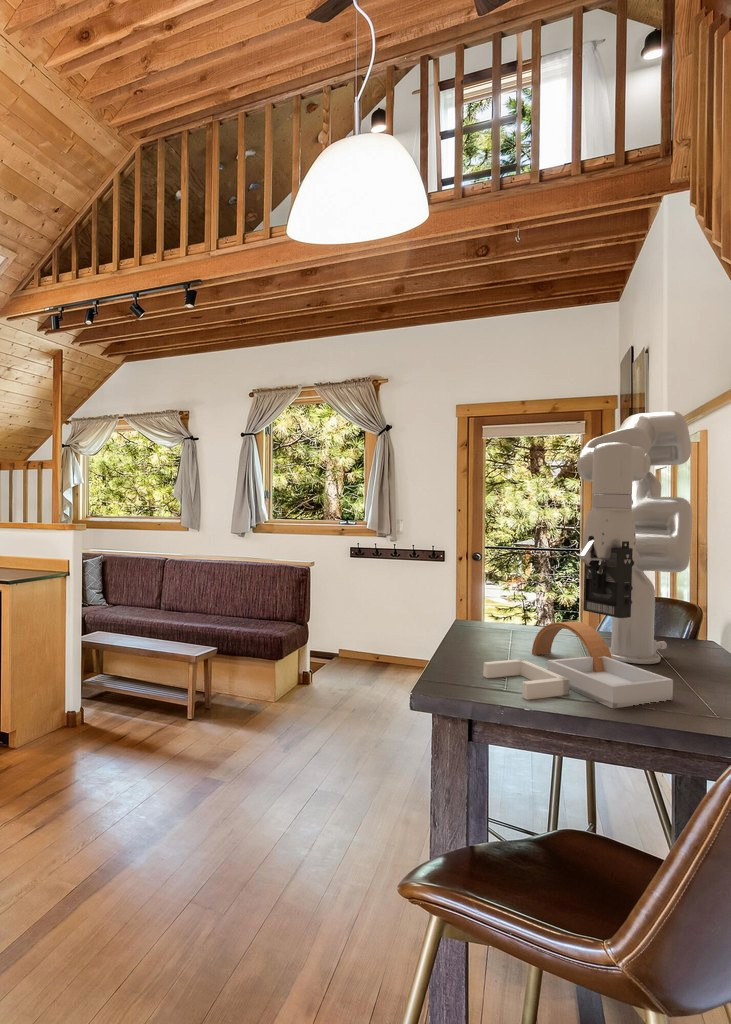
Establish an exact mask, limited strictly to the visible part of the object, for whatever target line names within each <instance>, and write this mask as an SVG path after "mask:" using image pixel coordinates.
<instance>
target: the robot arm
mask: <svg viewBox="0 0 731 1024" xmlns="http://www.w3.org/2000/svg"><path fill="white" fill-rule="evenodd" d="M688 426H689V425H688V423H687V421H686V419H685V417H684V416H683V414H681V413H680V412H678V411H674V410H673V411H672V410H671V411H670V410H669V411H668V410H667V411H666V410H665V411H657V412H656V411H654V412H641V413H636V414H632V415H630V416H628V417H627V418H626V419H624V421H622V424H620V426H619V427H618V429H617V430H615V431H610V432H609V433H606V434H603V435H601V436H597V437H594V438H592V439H590V440H589V441H588V442H586V444H585V445H583V448H582V449H581V451H580V452H579V454H578V456H577V461H576V463H577V464H576V468H577V469H576V470H577V473H578V475H579V476H580V479H582V480H584V482H585V481H586V482H592V483H591V509H590V510H588V511H587V513H586V518H585V522H584V529H583V536H582V537H583V538H582V551H581V553H580V554H579V559H580V560H581V561H582V562H583V563H585V565H586V566H587V567H588V569H589V572H590V573H592V577H591V592H593V593H597V594H605V586H606V575H605V574H603V572H604V568H605V564H606V560H608V559H609V558H610V555H611V548H622V541H629V548H633V553H632V587H633V589H632V591H631V600H632V604H631V617H629V618H616V617H611V642H610V643H611V646H610V647H608V649H609V651H610V653H611V656H612V659H614V660H617V661H620V662H623V663H629V664H630V663H631V664H638V665H654V664H658V663H659V664H660V662H661V655H660V654H658V653H657V651H658V650H665V649H667V647H668V644H667V642H666V641H664V640H662V641H661V640H660V641H657V640H656V639H655V613H656V611H655V610H656V608H655V607H656V606H655V605H656V589H655V586H654V584H653V582H652V581H651V579H650V578H649V577H648V576H647V574H646V573H645V572H649V571H650V572H662V573H665V572H666V573H681V572H684V571H686V570H687V568H688V566H689V563H690V559H691V547H692V532H693V509H692V506H691V504H690V502H689V501H688V500H687V499H685V498H684V497H678V496H661V494H662V484H661V482H660V480H659V479H658V478H657V477H656V475H655V474H653V473H652V472H651V471H650V470H651V466H654V467H655V466H678V465H679V466H680V465H683V464H685V463H686V462H688V461H689V460H690V457H691V454H692V441H691V436H690V431H689V427H688ZM625 546H627V544H625ZM591 555H592V557H591ZM597 557H598V558H597ZM591 558H592V559H591ZM597 562H599V565H597Z"/></svg>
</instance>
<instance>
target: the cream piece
mask: <svg viewBox="0 0 731 1024" xmlns="http://www.w3.org/2000/svg"><path fill="white" fill-rule="evenodd" d="M482 669H483V671H482V672H483V673H482V676H483V677H484V678H486V679H492V678H495V679H496V678H503V677H511V676H512V677H513V676H514V677H515V676H522V677H524V678H526V679H528V680H527V681H526V680H525V681H524V680H523V681H522V687H521V688H522V691H521V698H523V699H525V700H527V701H528V700H536V699H544V698H553V697H562V696H569V695H570V689H569V679H567V678H565V677H563V676H560V675H558V674H556V673H553V672H551V671H549V670H547V669H546V668H544V667H541V666H540V665H537V664H534V663H532V662H530V661H527V660H526V659H523V658H518V659H507V660H496V661H484V662H483V668H482Z"/></svg>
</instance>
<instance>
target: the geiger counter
mask: <svg viewBox="0 0 731 1024" xmlns="http://www.w3.org/2000/svg"><path fill="white" fill-rule="evenodd" d="M625 544H627V546H625ZM632 553H633V548H629V541H622V548H611V555H610V558H609V559H608V560H606V564H605V568H604V572H603V574H605V575H606V586H605V594H597V593H593V592H591V577H592V573H590V572H589V569H588V567H587V566H586V565H585V563H584V562H583V563H584V567H583V600H582V601H583V603H582V606H583V607H582V611H584V612H588V613H593V614H597V615H598V614H599V615H601V616H608V617H611V618H612V617H616V618H629V617H631V604H632V600H631V591H632V589H633V587H632ZM591 557H592V555H591ZM597 558H598V557H597ZM591 559H592V558H591ZM597 565H599V562H597Z"/></svg>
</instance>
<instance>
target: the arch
mask: <svg viewBox="0 0 731 1024" xmlns="http://www.w3.org/2000/svg"><path fill="white" fill-rule="evenodd" d="M564 629H566V630H568V631H570V632H571V633H573V634H574V635H576V637H578V639H579V640H580V641H581V642H582V643H583V645H584V647H585V649H586V650H587V652H588V655H589V656H590V657H593V661H594V662H593V671H594V672H602V671H604V665H603V660H602V658H599V657H602V656H606V657H609V658H612V656H611V653H610V651H609V649H608V645H607V643H606V641H605V640H604V639H603V636H601V635H600V633H599V632H597V631H596V629H595V628H593V627H592V626H590V625H589V624H586V623H585V622H580V621H576V620H575V621H574V620H573V621H572V620H570V621H559V622H552V623H548V624H546V625H545V626H543V627H542V628H541V629H540V630H539V632H538V633H537V634H536V636H535V638H534V641H533V644H532V648H531V649H532V650H531V655H533V656H538V655H540V654H541V655H549V654H551V653H552V646H553V643H554V640H555V638H556V637H557V635H558V634H559V632H560V631H562V630H564ZM548 653H549V654H548Z"/></svg>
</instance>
